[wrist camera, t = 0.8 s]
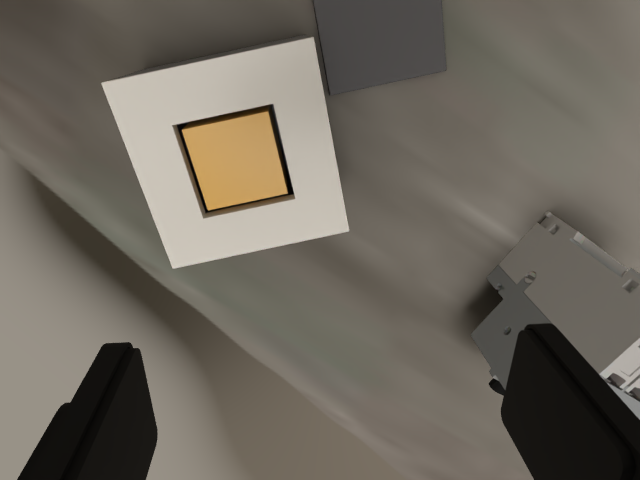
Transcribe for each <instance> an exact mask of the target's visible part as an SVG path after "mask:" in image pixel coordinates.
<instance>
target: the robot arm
mask: <svg viewBox="0 0 640 480" xmlns="http://www.w3.org/2000/svg"><path fill="white" fill-rule="evenodd" d="M501 417H502V421H503V423H504V426H505V427H506V429H507V431H508V433H509V435H510V436H511V438H512V440H513V442H514V444H515V446H516V447H517V449H518V451H519V453H520V455H521V456H522V458H523V460H524V462H525V464H526V466H527V467H528V469H529V471H530V473H531V475H532V476H533V478H534V480H640V420H639V418H638V417H637V416H636V415H635V414H634V413H633V412H632V411H631V410H630V408H629V407H628V406H627V405H626V404H625V403H624V402H623V401H622V400H621V398H620V397H619V396H618V395H617V394H616V393H615V392H614V391H613V390H612V388H611V387H610V386H609V385H608V384H607V383H606V382H605V381H604V379H603V378H602V377H601V376H600V375H599V374H598V373H597V372H596V371H595V369H594V368H593V367H592V366H591V365H590V364H589V363H588V362H587V361H586V359H585V358H584V357H583V356H582V355H581V354H580V353H579V352H578V351H577V349H576V348H575V347H574V346H573V345H572V344H571V343H570V342H569V340H568V339H567V338H566V337H565V336H564V335H563V334H562V333H561V332H560V330H559V329H558V328H557V327H556V326H555V325H554V324H551V323H542V324H528V325H526V327H525V329H524V330H521V331H520V332H519V334H518V337H517V341H516V346H515V350H514V354H513V359H512V363H511V367H510V372H509V376H508V381H507V385H506V389H505V394H504V398H503V402H502V407H501ZM156 443H157V426H156V422H155V417H154V412H153V408H152V403H151V398H150V393H149V388H148V384H147V379H146V374H145V370H144V365H143V360H142V356H141V352H140V349H138V348H133V346H132V344H131V343H129V342H126V343H106V344H104V345H103V346H102V347H101V349H100V351H99V353H98V354H97V356H96V358H95V360H94V362H93V363H92V365H91V367H90V369H89V371H88V372H87V374H86V376H85V378H84V379H83V381H82V383H81V385H80V386H79V388H78V390H77V392H76V394H75V395H74V397H73V399H72V401H71V402H70V403H65V404H63V405H62V406H61V407H60V408H59V409H58V411H57V412H56V414H55V415H54V417H53V419H52V421H51V423H50V424H49V426H48V427H47V429H46V431H45V433H44V434H43V436H42V438H41V440H40V441H39V443H38V445H37V447H36V448H35V450H34V452H33V453H32V455H31V457H30V458H29V460H28V462H27V464H26V466H25V467H24V469H23V471H22V472H21V474H20V476H19V477H18V479H17V480H146V477H147V474H148V470H149V467H150V463H151V460H152V457H153V454H154V450H155V447H156Z"/></svg>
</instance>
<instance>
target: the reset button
mask: <svg viewBox="0 0 640 480" xmlns="http://www.w3.org/2000/svg"><path fill="white" fill-rule="evenodd" d="M182 133H183V136H184V139H185V142H186V145H187V148H188V151H189V154H190V157H191V160H192V163H193V166H194V169H195V172H196V175H197V179H198V182H199V185H200V188H201V191H202V194H203V197H204V200H205V203H206V206H207V209H208V210H213V209H217V208H222V207H227V206H231V205H236V204H241V203H246V202H250V201H255V200H260V199H264V198H269V197H274V196H278V195H283V194H288V189H287V172H286V168H285V164H284V160H283V155H282V151H281V147H280V143H279V138H278V134H277V130H276V126H275V121H274V117H273V113H272V109H271V104H269V105H265V106H260V107H255V108H251V109H246V110H241V111H237V112H232V113H227V114H223V115H218V116H213V117H209V118H204V119H199V120H195V121H190V122H189V123H188V124H187V125H186V126H185V127H184V128H183V129H182Z"/></svg>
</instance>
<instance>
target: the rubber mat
mask: <svg viewBox="0 0 640 480" xmlns="http://www.w3.org/2000/svg"><path fill="white" fill-rule="evenodd" d="M313 3H314V9H315V15H316V20H317V26H318V31H319V37H320V43H321V48H322V54H323V59H324V65H325V71H326V76H327V82H328V88H329V93H330V95H335V94H340V93H344V92H349V91H354V90H358V89H363V88H368V87H372V86H377V85H382V84H386V83H391V82H396V81H400V80H405V79H410V78H414V77H419V76H424V75H428V74H433V73H438V72H442V71H446V57H445V42H444V28H443V13H442V0H313Z"/></svg>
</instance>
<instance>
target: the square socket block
mask: <svg viewBox="0 0 640 480" xmlns="http://www.w3.org/2000/svg"><path fill="white" fill-rule="evenodd" d="M101 84H102V86H103V89H104V92H105V94H106V97H107V99H108V102H109V105H110V107H111V110H112V112H113V115H114V118H115V120H116V123H117V125H118V128H119V131H120V133H121V136H122V138H123V141H124V143H125V146H126V149H127V151H128V154H129V156H130V159H131V162H132V164H133V167H134V169H135V172H136V175H137V177H138V180H139V182H140V185H141V188H142V190H143V193H144V195H145V198H146V200H147V203H148V206H149V208H150V211H151V213H152V216H153V219H154V221H155V224H156V226H157V229H158V232H159V234H160V237H161V239H162V242H163V245H164V247H165V250H166V252H167V255H168V257H169V260H170V263H171V265H172V268H173V269H174V268H178V267H183V266H188V265H193V264H197V263H202V262H207V261H211V260H216V259H221V258H226V257H230V256H235V255H240V254H245V253H249V252H254V251H259V250H263V249H268V248H273V247H278V246H282V245H287V244H292V243H296V242H301V241H306V240H311V239H315V238H320V237H325V236H329V235H334V234H339V233H344V232H348V231H349V227H348V222H347V216H346V211H345V206H344V200H343V195H342V189H341V184H340V178H339V173H338V167H337V162H336V156H335V151H334V146H333V140H332V135H331V129H330V124H329V118H328V113H327V107H326V102H325V96H324V91H323V86H322V80H321V75H320V69H319V64H318V58H317V53H316V47H315V42H314V37H312V36H308V35H301V36H296V37H291V38H287V39H282V40H277V41H273V42H268V43H264V44H259V45H254V46H250V47H245V48H240V49H236V50H231V51H227V52H222V53H217V54H213V55H208V56H203V57H199V58H194V59H190V60H185V61H180V62H176V63H171V64H166V65H162V66H157V67H153V68H148V69H144V70H141V71H137V72H134V73H131V74H128V75H125V76H122V77H118V78H115V79H112V80H109V81H106V82H103V83H101ZM269 104H271V109H272V113H273V117H274V121H275V126H276V130H277V134H278V138H279V143H280V147H281V151H282V155H283V160H284V164H285V168H286V172H287V189H288V194H283V195H278V196H274V197H269V198H264V199H260V200H255V201H250V202H246V203H241V204H236V205H231V206H227V207H222V208H217V209H213V210H208V209H207V206H206V203H205V200H204V197H203V194H202V191H201V188H200V185H199V182H198V179H197V175H196V172H195V169H194V166H193V163H192V160H191V157H190V154H189V151H188V148H187V145H186V142H185V139H184V136H183V133H182V129H183V128H184V127H185V126H186V125H187V124H188V123H189V122H190V121H195V120H199V119H204V118H209V117H213V116H218V115H223V114H227V113H232V112H237V111H241V110H246V109H251V108H255V107H260V106H265V105H269Z"/></svg>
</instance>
